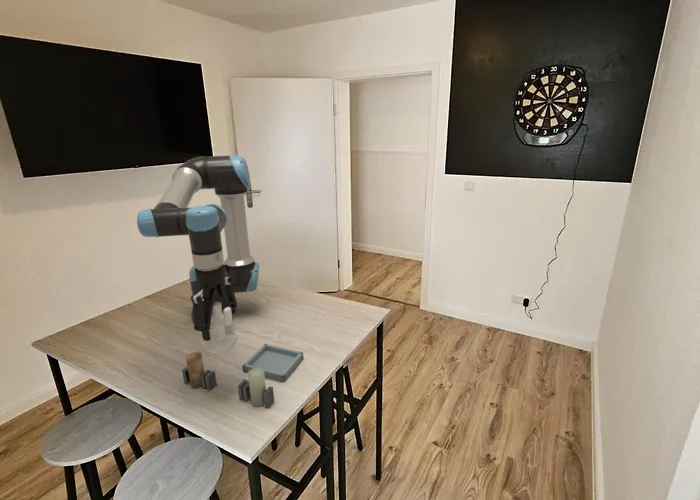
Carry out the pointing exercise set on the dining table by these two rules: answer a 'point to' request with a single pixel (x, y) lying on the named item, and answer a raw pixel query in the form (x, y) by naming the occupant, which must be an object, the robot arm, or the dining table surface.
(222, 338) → the figurine
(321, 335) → the dining table surface
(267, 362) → the tray
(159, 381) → the dining table surface
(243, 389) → the clip posts
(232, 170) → the robot arm
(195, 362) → the brown rounded cylinder
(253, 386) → the green dowel
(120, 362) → the dining table surface
